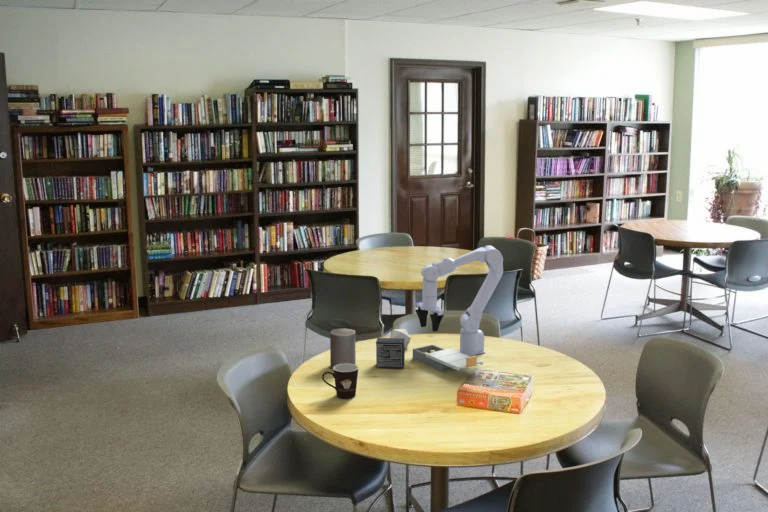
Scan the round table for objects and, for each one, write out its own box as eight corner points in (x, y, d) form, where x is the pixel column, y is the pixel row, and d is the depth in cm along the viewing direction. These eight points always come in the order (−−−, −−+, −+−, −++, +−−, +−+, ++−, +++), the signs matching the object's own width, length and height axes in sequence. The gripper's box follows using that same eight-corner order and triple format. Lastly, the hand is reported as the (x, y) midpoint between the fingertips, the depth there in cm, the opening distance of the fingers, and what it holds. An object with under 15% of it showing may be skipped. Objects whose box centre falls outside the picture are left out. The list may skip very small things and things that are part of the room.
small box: (405, 363, 290) (405, 337, 288) (403, 369, 284) (403, 342, 282) (377, 362, 291) (377, 336, 289) (375, 368, 285) (375, 341, 283)
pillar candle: (325, 365, 288) (324, 327, 285) (346, 360, 294) (346, 323, 291) (339, 372, 280) (339, 333, 278) (361, 367, 286) (360, 329, 283)
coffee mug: (362, 392, 260) (362, 365, 258) (353, 401, 252) (353, 373, 250) (331, 388, 264) (330, 361, 262) (321, 397, 256) (320, 369, 254)
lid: (449, 351, 294) (449, 341, 293) (484, 365, 277) (484, 354, 277) (425, 356, 287) (425, 346, 286) (460, 371, 271) (460, 360, 270)
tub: (432, 354, 301) (432, 344, 301) (462, 366, 287) (462, 356, 286) (412, 358, 296) (412, 349, 295) (441, 371, 281) (441, 361, 281)
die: (405, 354, 304) (416, 332, 306) (387, 343, 303) (398, 322, 306) (401, 355, 312) (411, 334, 314) (383, 345, 311) (393, 324, 313)
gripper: (410, 293, 301) (410, 326, 303) (433, 300, 289) (432, 334, 292) (424, 291, 305) (424, 323, 307) (447, 298, 293) (446, 331, 296)
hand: (429, 328), depth 300 cm, fingers open, 7 cm apart
